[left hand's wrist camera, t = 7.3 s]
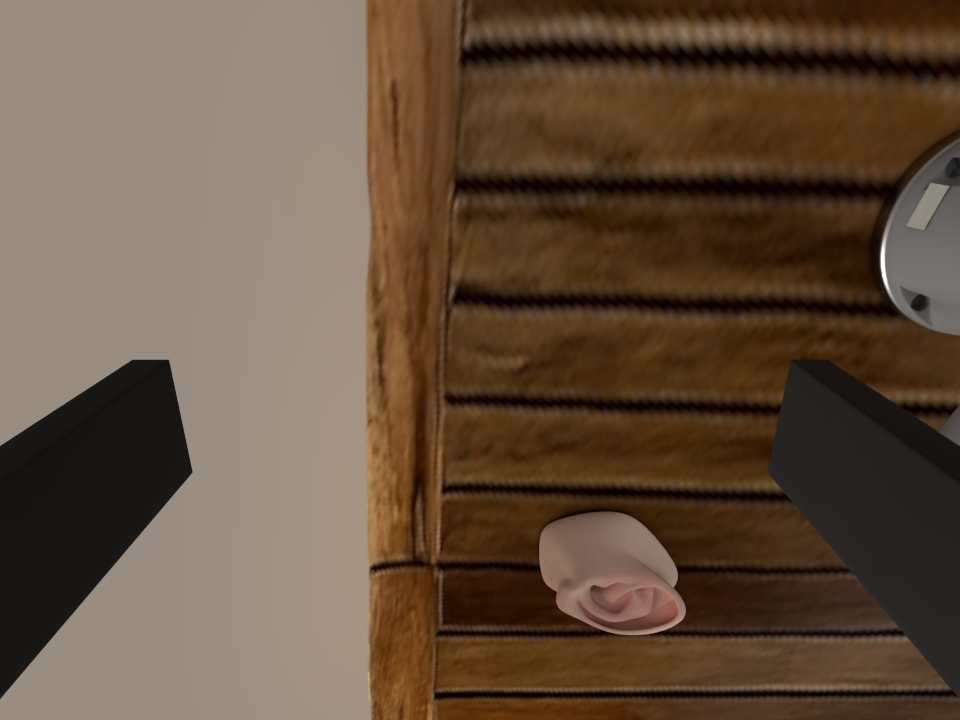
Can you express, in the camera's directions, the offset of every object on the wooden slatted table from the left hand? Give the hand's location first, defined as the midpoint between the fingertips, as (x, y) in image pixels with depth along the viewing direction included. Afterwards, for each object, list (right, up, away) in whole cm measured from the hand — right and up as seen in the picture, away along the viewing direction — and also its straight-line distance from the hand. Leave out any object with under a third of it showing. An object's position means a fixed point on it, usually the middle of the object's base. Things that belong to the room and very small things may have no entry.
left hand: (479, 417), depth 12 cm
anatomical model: (+12, -18, +42) cm, 47 cm away
